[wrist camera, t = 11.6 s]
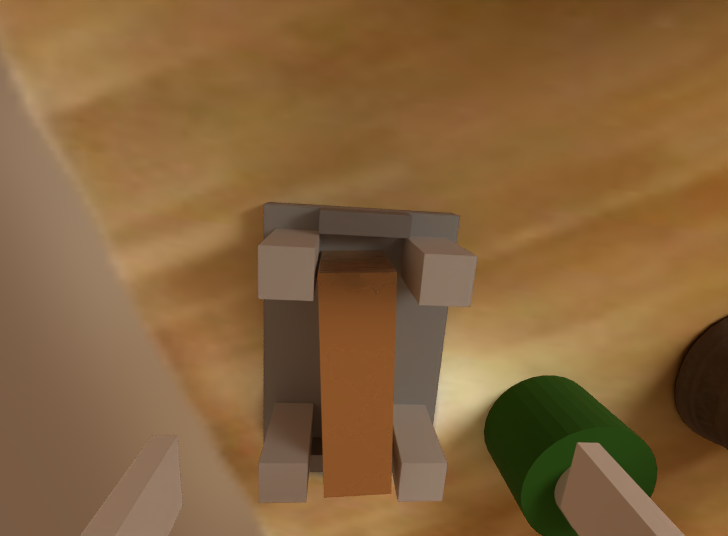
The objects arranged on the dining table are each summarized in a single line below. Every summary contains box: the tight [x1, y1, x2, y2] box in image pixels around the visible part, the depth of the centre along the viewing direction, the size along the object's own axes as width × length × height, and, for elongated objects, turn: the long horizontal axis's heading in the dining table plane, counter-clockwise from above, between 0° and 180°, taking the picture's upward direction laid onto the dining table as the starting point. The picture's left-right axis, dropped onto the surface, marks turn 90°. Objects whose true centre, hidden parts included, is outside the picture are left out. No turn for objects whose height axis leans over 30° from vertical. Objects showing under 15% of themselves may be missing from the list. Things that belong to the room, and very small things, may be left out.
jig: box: [258, 202, 478, 503], centre depth 21 cm, size 16×11×6 cm
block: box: [318, 250, 397, 498], centre depth 20 cm, size 12×4×5 cm, turn 0°
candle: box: [484, 376, 657, 536], centre depth 22 cm, size 8×8×10 cm
